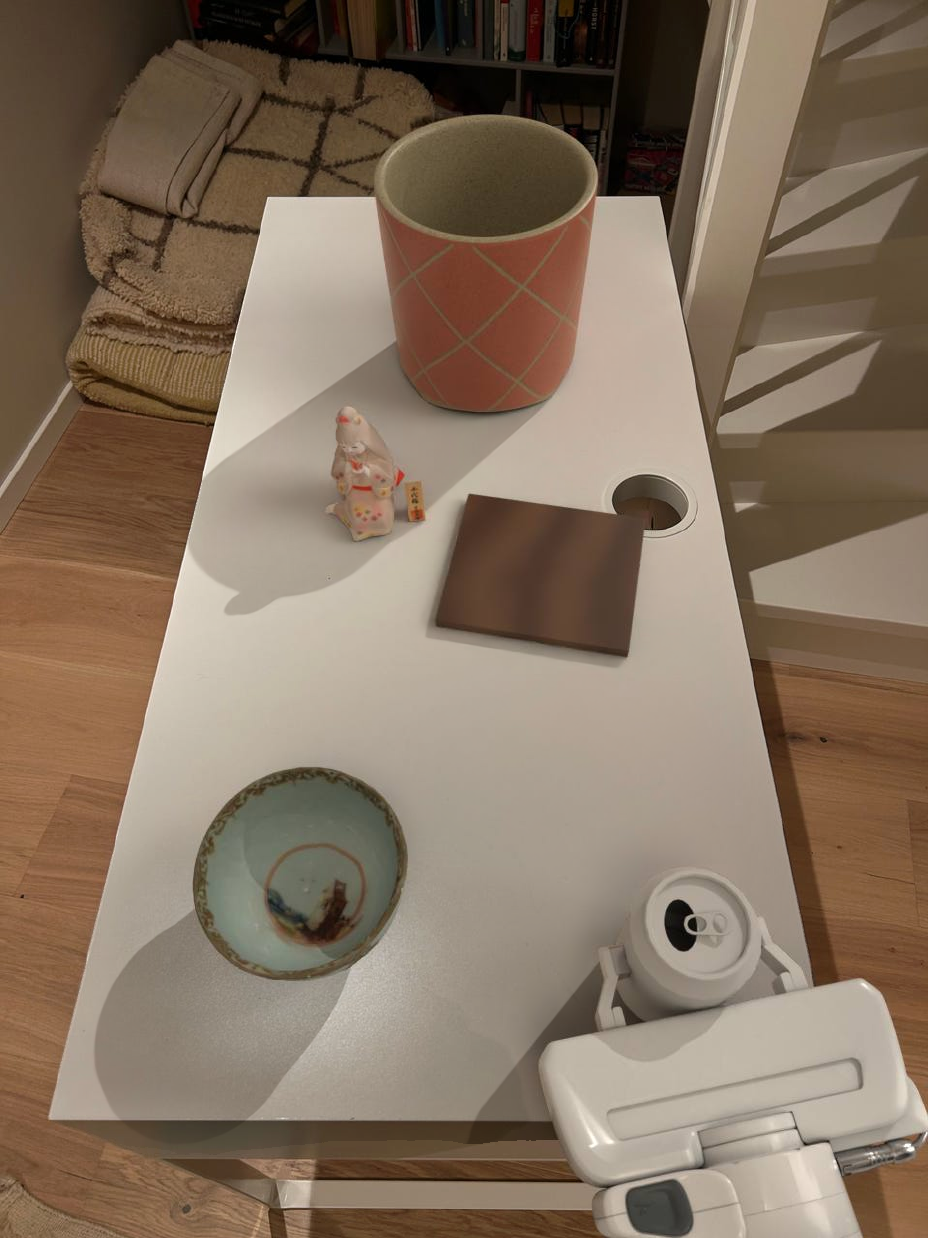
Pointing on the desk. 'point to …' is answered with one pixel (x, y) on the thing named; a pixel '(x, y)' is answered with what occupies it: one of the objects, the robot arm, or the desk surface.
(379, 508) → the figurine
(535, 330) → the planter
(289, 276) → the desk surface
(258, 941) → the bowl
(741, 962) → the can
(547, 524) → the board
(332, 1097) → the desk surface
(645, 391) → the desk surface
